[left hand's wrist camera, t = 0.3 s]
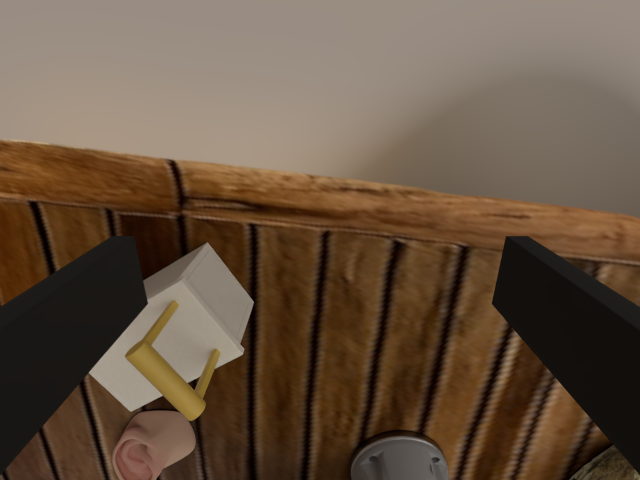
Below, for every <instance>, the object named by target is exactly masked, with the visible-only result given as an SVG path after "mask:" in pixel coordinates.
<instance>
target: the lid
mask: <svg viewBox="0 0 640 480" xmlns="http://www.w3.org/2000/svg"><path fill="white" fill-rule="evenodd" d="M147 301H148V305H147V306H146V307H145V308H144V309H143V310H142V311H141V313H140V314H139V315H138V316H137V317H136V318H135V320H134V321H133V322H132V323H131V324H130V325H129V327H128V328H127V329H126V330H125V331H124V332H123V333H122V335H121V336H120V337H119V338H118V339H117V340H116V342H115V343H114V344H113V345H112V346H111V347H110V349H109V350H108V351H107V352H106V353H105V354H104V356H103V357H102V358H101V359H100V360H99V361H98V362H97V364H96V365H95V366H94V367H93V368H92V369H91V371H90V372H89V374H90V375H92V376H93V377H94V378H95V379H96V380H97V381H98V382H99V383H100V384H101V385H102V386H103V387H104V388H106V389H107V390H108V391H109V392H110V393H111V394H112V395H113V396H114V397H115V398H116V399H117V400H118V401H119V402H121V403H122V404H123V405H124V406H125V407H126V408H127V409H128V410H129V411H130V412H131V411H133V410H135V409H137V408H139V407H141V406H143V405H145V404H147V403H149V402H151V401H153V400H155V399H157V398H159V397H161V396H164V397H165V398H166V399H167V400H168V401H169V402H170V403H171V404H172V405H173V406H174V407H175V408H176V409H177V410H178V411H179V412H180V413H181V414H182V415H183V416H184V417H185V418H186V419H187V420H188V421H192V420H194V419H196V418H197V417H198V416H199V415H200V414H201V413H202V412H203V410H204V409H205V406H206V402H205V401H204V400H203V397H204V394H205V392H206V389H207V387H208V384H209V382H210V379H211V376H212V374H213V371H214V369H216V368H218V367H219V366H221V365H223V364H225V363H227V362H229V361H231V360H233V359H235V358H237V357H239V356H241V355H243V352H244V348H243V347H242V346H241V344H240V343H239V342H238V341H237V340H236V338H235V337H234V336H233V335H232V334H231V332H230V331H229V330H228V329H227V328H226V327H225V325H224V324H223V323H222V322H221V321H220V319H219V318H218V317H217V316H216V315H215V313H214V312H213V311H212V310H211V309H210V307H209V306H208V305H207V304H206V303H205V301H204V300H203V299H202V298H201V297H200V295H199V294H198V293H197V292H196V291H195V289H194V288H193V287H192V286H191V285H190V284H189V282H188V281H187V280H186V279H185V278H184V277H182V278H180V279H179V280H177V281H175V282H173V283H172V284H170V285H168V286H167V287H165V288H163V289H161V290H160V291H158V292H156V293H155V294H153V295H151V296H150V297H148V298H147ZM200 376H201V377H200ZM198 377H200V379H199V381H198V384H197V386H196V388H195V391H194V390H193V389H192V388H191V386H190V385H189V384H188V382H190V381H192V380H194V379H196V378H198Z"/></svg>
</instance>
